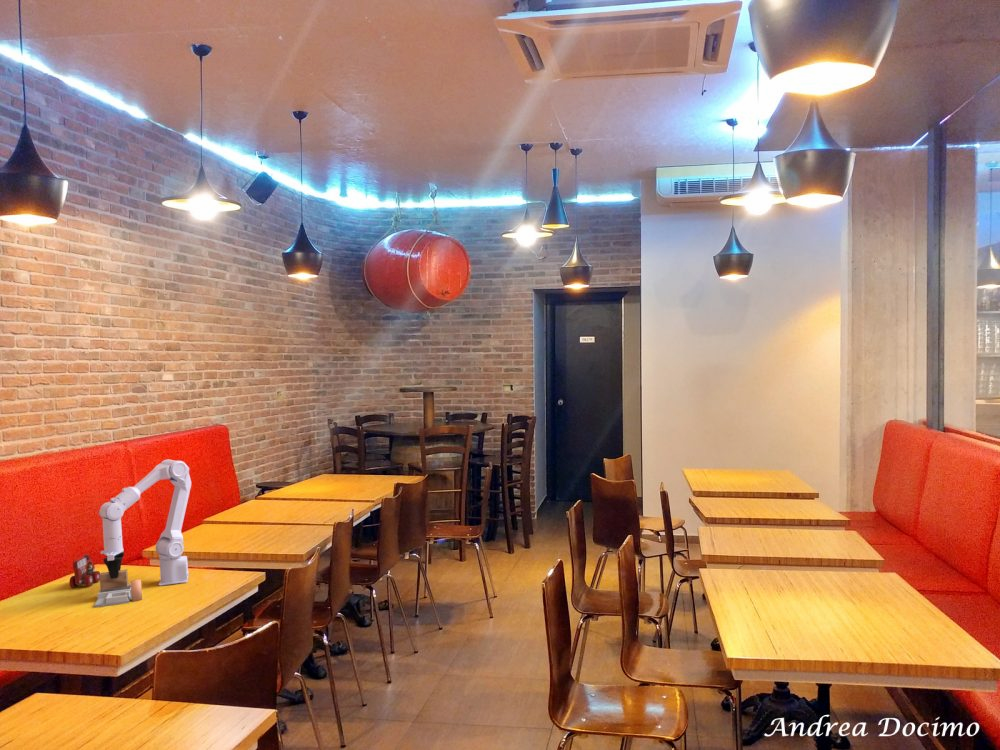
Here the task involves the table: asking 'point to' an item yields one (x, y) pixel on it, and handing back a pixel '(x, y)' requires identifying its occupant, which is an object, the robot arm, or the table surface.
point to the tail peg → (136, 590)
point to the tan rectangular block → (114, 580)
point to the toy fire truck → (84, 572)
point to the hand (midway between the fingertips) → (115, 576)
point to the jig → (114, 596)
